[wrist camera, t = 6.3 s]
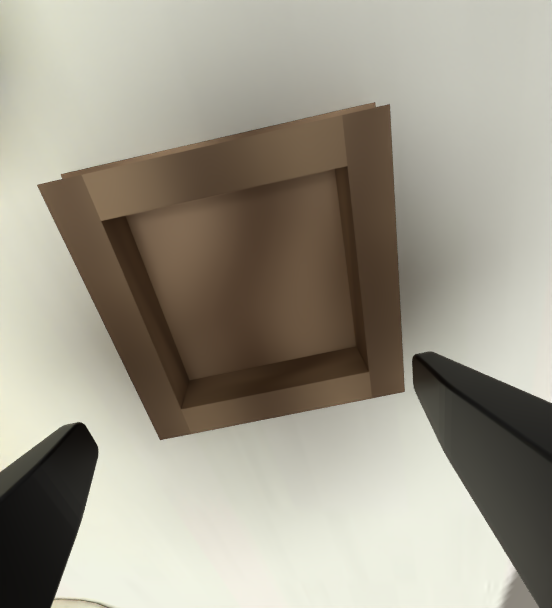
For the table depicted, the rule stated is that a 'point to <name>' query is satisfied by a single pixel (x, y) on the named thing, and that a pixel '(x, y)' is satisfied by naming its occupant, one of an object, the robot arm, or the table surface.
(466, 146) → the table surface
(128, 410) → the table surface
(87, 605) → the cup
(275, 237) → the base
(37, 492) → the robot arm
